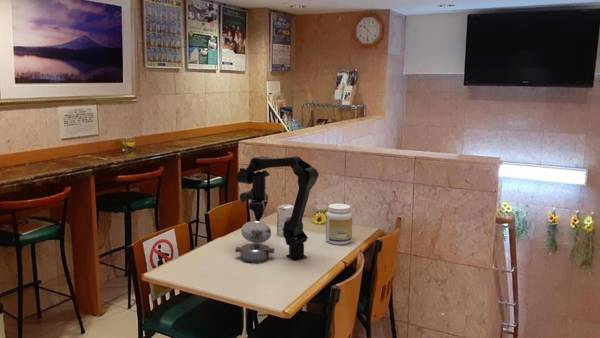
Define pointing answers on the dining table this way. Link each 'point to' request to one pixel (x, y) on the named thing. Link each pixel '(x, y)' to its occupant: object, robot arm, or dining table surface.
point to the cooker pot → (255, 252)
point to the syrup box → (283, 217)
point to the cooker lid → (256, 231)
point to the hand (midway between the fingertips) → (259, 220)
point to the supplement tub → (339, 224)
